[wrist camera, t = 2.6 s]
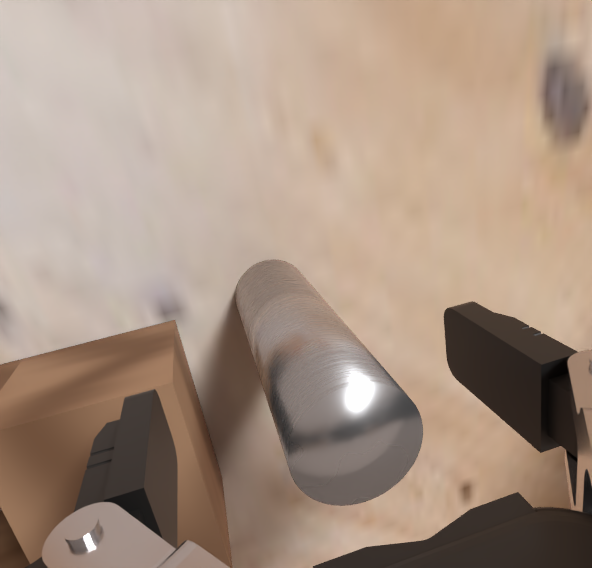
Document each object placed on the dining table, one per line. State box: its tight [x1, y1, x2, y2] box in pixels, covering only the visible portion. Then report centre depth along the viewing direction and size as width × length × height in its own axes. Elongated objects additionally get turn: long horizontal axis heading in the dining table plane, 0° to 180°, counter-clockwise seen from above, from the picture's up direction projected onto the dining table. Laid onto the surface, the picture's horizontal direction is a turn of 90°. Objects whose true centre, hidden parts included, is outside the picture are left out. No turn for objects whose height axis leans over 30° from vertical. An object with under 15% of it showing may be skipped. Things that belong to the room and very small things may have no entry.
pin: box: [235, 260, 423, 506], centre depth 14 cm, size 3×3×10 cm
